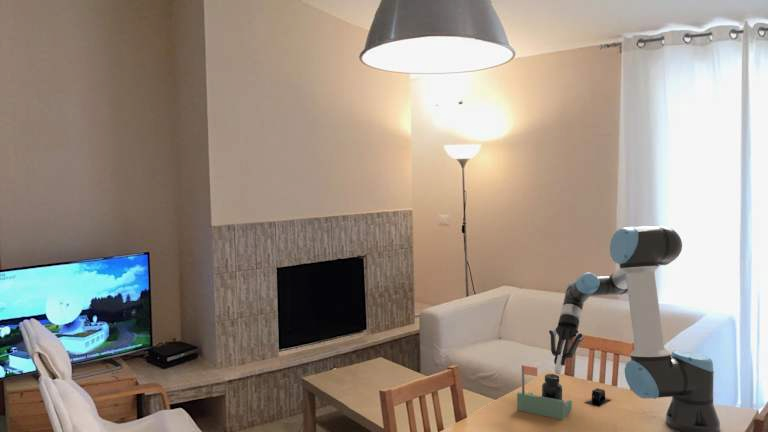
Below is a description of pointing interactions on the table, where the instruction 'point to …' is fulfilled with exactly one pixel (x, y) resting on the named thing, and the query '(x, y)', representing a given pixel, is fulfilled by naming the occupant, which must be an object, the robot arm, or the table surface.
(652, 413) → the table surface
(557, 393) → the supplement bottle
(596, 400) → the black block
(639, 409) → the table surface
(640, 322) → the robot arm
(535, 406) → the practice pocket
